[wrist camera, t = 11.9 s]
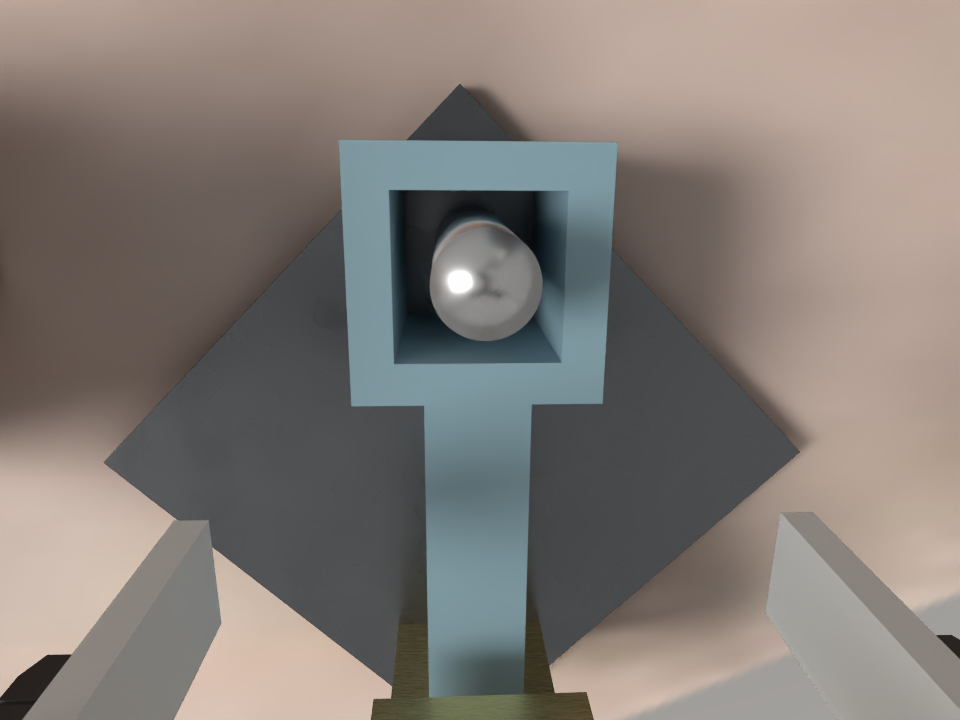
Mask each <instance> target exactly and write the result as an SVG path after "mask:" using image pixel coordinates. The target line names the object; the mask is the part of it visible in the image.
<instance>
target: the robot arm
mask: <svg viewBox="0 0 960 720" xmlns="http://www.w3.org/2000/svg"><path fill="white" fill-rule="evenodd" d="M765 614H766V615H767V616H768V618H769V619H770V621H771V622H772V624H773V625H774V627H775V628H776V630H777V631H778V633H779V634H780V636H781V637H782V639H783V640H784V642H785V643H786V645H787V646H788V647H789V649H790V650H791V652H792V653H793V655H794V656H795V658H796V659H797V661H798V662H799V664H800V665H801V667H802V668H803V670H804V671H805V672H806V674H807V675H808V677H809V678H810V680H811V681H812V683H813V684H814V686H815V687H816V689H817V690H818V692H819V693H820V695H821V696H822V697H823V699H824V700H825V702H826V704H827V705H828V706H829V708H830V709H831V711H832V712H833V714H834V715H835V717H836V718H837V720H960V640H959V639H957V638H956V637H954V636H952V635H935V634H934V633H933V632H932V631H931V630H930V629H929V628H928V627H927V626H926V625H925V624H924V623H923V622H922V621H921V620H920V619H919V618H918V617H917V616H916V615H915V614H914V613H913V612H912V611H911V610H910V609H909V608H908V607H907V606H906V605H905V604H904V603H903V602H902V601H901V600H900V599H899V598H898V597H897V596H896V595H895V594H894V593H893V592H892V591H891V590H890V589H889V588H888V587H887V586H886V585H885V584H884V583H883V582H882V581H881V580H880V579H879V578H878V577H877V576H876V575H875V574H874V573H873V572H872V571H871V570H870V569H869V568H868V567H867V566H866V565H865V564H864V563H863V562H862V561H861V560H860V559H859V558H858V557H857V556H856V555H855V554H854V553H853V552H852V551H851V550H850V549H849V548H848V547H847V546H846V545H845V544H844V543H843V542H842V541H841V540H840V539H839V538H838V537H837V536H836V535H835V534H834V533H833V532H832V531H831V530H830V529H829V528H828V527H827V526H826V525H825V524H824V523H823V522H822V521H821V520H820V519H819V518H818V517H817V516H816V515H815V514H814V513H813V512H797V513H780V520H779V526H778V533H777V539H776V546H775V552H774V559H773V566H772V572H771V579H770V585H769V592H768V598H767V605H766V611H765ZM220 625H221V616H220V608H219V600H218V592H217V584H216V576H215V568H214V560H213V552H212V543H211V535H210V527H209V520H182V521H173V523H172V524H171V525H170V527H169V528H168V529H167V531H166V532H165V533H164V535H163V536H162V537H161V538H160V540H159V541H158V542H157V544H156V545H155V546H154V548H153V549H152V550H151V552H150V553H149V554H148V556H147V557H146V558H145V559H144V561H143V562H142V563H141V565H140V566H139V567H138V569H137V570H136V571H135V573H134V574H133V575H132V577H131V578H130V579H129V580H128V582H127V583H126V584H125V586H124V587H123V588H122V590H121V591H120V592H119V594H118V595H117V596H116V597H115V599H114V600H113V601H112V603H111V604H110V605H109V607H108V608H107V609H106V611H105V612H104V613H103V615H102V616H101V617H100V618H99V620H98V621H97V622H96V624H95V625H94V626H93V628H92V629H91V630H90V632H89V633H88V634H87V636H86V637H85V638H84V639H83V641H82V642H81V643H80V645H79V646H78V647H77V649H76V650H75V651H74V653H73V654H72V655H47V656H45V657H44V658H43V659H41V660H40V661H38V662H37V663H36V664H34V665H33V666H32V667H30V668H29V669H27V670H26V671H25V672H23V673H22V674H21V675H19V676H18V677H17V678H16V679H15V681H14V682H13V683H12V684H11V685H10V687H9V688H8V689H7V690H6V691H5V693H4V694H3V695H2V696H1V697H0V720H174V718H175V716H176V714H177V712H178V710H179V708H180V706H181V704H182V702H183V700H184V698H185V696H186V694H187V692H188V690H189V688H190V686H191V684H192V682H193V680H194V678H195V676H196V674H197V672H198V670H199V667H200V665H201V663H202V661H203V659H204V657H205V655H206V653H207V651H208V649H209V647H210V645H211V643H212V641H213V639H214V637H215V635H216V633H217V631H218V629H219V627H220Z"/></svg>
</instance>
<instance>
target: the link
mask: <svg viewBox="0 0 960 720" xmlns="http://www.w3.org/2000/svg"><path fill="white" fill-rule="evenodd" d="M617 145H618V142H536V141H418V140H339V157H340V178H341V199H342V220H343V241H344V262H345V283H346V303H347V324H348V345H349V366H350V387H351V406H424V428H425V487H426V545H427V603H428V662H429V697H455V696H486V695H516V694H524V661H525V625H526V590H527V554H528V519H529V483H530V448H531V412H532V404H603V387H604V369H605V352H606V335H607V318H608V300H609V283H610V266H611V249H612V231H613V214H614V197H615V180H616V163H617ZM405 190H507V191H534V208H533V245H532V252H533V254H534V255H535V257H536V259H537V261H538V263H539V266H540V269H541V273H542V280H543V288H542V296H541V300H540V303H539V305H538V308H537V310H536V312H535V314H534V315H533V317H532V318H531V319H530V321H529V322H528V323H527V324H526V325H525V326H524V327H522V328H521V329H520V330H519V331H517V332H516V333H514V334H512V335H510V336H508V337H505V338H502V339H499V340H494V341H477V340H472V339H469V338H466V337H463V336H461V335H459V334H457V333H456V332H454V331H453V330H451V329H450V328H449V327H448V326H447V325H446V324H445V323H444V322H443V321H442V320H441V318H440V317H439V316H438V314H437V312H407V270H406V227H405Z"/></svg>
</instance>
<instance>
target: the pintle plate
mask: <svg viewBox="0 0 960 720" xmlns="http://www.w3.org/2000/svg"><path fill="white" fill-rule="evenodd" d="M407 140H418V141H512V139H511V138H510V137H509V136H508V135H507V134H506V133H505V132H504V131H503V130H502V129H501V128H500V126H499V125H498V124H497V123H496V122H495V121H494V120H493V119H492V118H491V117H490V116H489V115H488V113H487V112H486V111H485V110H484V109H483V108H482V107H481V106H480V105H479V104H478V103H477V102H476V100H475V99H474V98H473V97H472V96H471V95H470V94H469V93H468V92H467V91H466V90H465V89H464V87H463V86H462V85H461V84H459V85H458V86H457V87H456V88H455V89H454V91H453V92H452V93H451V94H450V95H449V96H448V97H447V98H446V99H445V100H444V101H443V102H442V103H441V104H440V105H439V106H438V108H437V109H436V110H435V111H434V112H433V113H432V114H431V115H430V116H429V117H428V118H427V119H426V120H425V121H424V122H423V123H422V125H421V126H420V127H419V128H418V129H417V130H416V131H415V132H414V133H413V134H412V135H411V136H410V137H409V138H408V139H407ZM533 208H534V191H507V190H405V227H406V270H407V312H437V314H438V316H439V317H440V318H441V320H442V321H443V322H444V323H445V324H446V325H447V326H448V327H449V328H450V329H451V330H453V331H454V332H456V333H457V334H459V335H461V336H463V337H466V338H469V339H472V340H477V341H494V340H499V339H502V338H505V337H508V336H510V335H512V334H514V333H516V332H517V331H519V330H520V329H521V328H522V327H524V326H525V325H526V324H527V323H528V322H529V321H530V319H531V318H532V317H533V315H534V314H535V312H536V310H537V308H538V305H539V303H540V300H541V296H542V288H543V280H542V273H541V269H540V266H539V263H538V261H537V259H536V257H535V255H534V254H533V252H532V245H533ZM798 453H800V451H799V450H798V449H797V448H796V447H795V446H794V445H793V444H792V443H791V441H790V440H789V439H788V438H787V437H786V436H785V435H784V434H783V433H782V432H781V431H780V430H779V428H778V427H777V426H776V425H775V424H774V423H773V422H772V421H771V420H770V419H769V418H768V417H767V416H766V414H765V413H764V412H763V411H762V410H761V409H760V408H759V407H758V406H757V405H756V404H755V403H754V401H753V400H752V399H751V398H750V397H749V396H748V395H747V394H746V393H745V392H744V391H743V390H742V388H741V387H740V386H739V385H738V384H737V383H736V382H735V381H734V380H733V379H732V378H731V377H730V375H729V374H728V373H727V372H726V371H725V370H724V369H723V368H722V367H721V366H720V365H719V364H718V362H717V361H716V360H715V359H714V358H713V357H712V356H711V355H710V354H709V353H708V352H707V351H706V349H705V348H704V347H703V346H702V345H701V344H700V343H699V342H698V341H697V340H696V339H695V338H694V336H693V335H692V334H691V333H690V332H689V331H688V330H687V329H686V328H685V327H684V326H683V325H682V323H681V322H680V321H679V320H678V319H677V318H676V317H675V316H674V315H673V314H672V313H671V312H670V311H669V309H668V308H667V307H666V306H665V305H664V304H663V303H662V302H661V301H660V300H659V299H658V298H657V296H656V295H655V294H654V293H653V292H652V291H651V290H650V289H649V288H648V287H647V286H646V285H645V283H644V282H643V281H642V280H641V279H640V278H639V277H638V276H637V275H636V274H635V273H634V272H633V270H632V269H631V268H630V267H629V266H628V265H627V264H626V263H625V262H624V261H623V260H622V259H621V257H620V256H619V255H618V254H617V253H616V252H615V251H614V250H613V249H611V266H610V283H609V300H608V318H607V335H606V352H605V369H604V387H603V404H532V412H531V448H530V483H529V519H528V554H527V590H526V625H525V661H524V694H516V695H486V696H455V697H429V662H428V603H427V545H426V487H425V428H424V406H351V387H350V366H349V345H348V324H347V303H346V283H345V262H344V241H343V220H342V210H341V211H340V212H339V213H338V214H337V215H336V216H335V217H334V218H333V219H332V220H331V221H330V222H329V223H328V224H327V226H326V227H325V228H324V229H323V230H322V231H321V232H320V233H319V234H318V235H317V236H316V237H315V238H314V239H313V240H312V241H311V243H310V244H309V245H308V246H307V247H306V248H305V249H304V250H303V251H302V252H301V253H300V254H299V255H298V256H297V257H296V258H295V260H294V261H293V262H292V263H291V264H290V265H289V266H288V267H287V268H286V269H285V270H284V271H283V272H282V273H281V274H280V275H279V277H278V278H277V279H276V280H275V281H274V282H273V283H272V284H271V285H270V286H269V287H268V288H267V289H266V290H265V291H264V292H263V294H262V295H261V296H260V297H259V298H258V299H257V300H256V301H255V302H254V303H253V304H252V305H251V306H250V307H249V308H248V309H247V311H246V312H245V313H244V314H243V315H242V316H241V317H240V318H239V319H238V320H237V321H236V322H235V323H234V324H233V325H232V326H231V328H230V329H229V330H228V331H227V332H226V333H225V334H224V335H223V336H222V337H221V338H220V339H219V340H218V341H217V342H216V343H215V345H214V346H213V347H212V348H211V349H210V350H209V351H208V352H207V353H206V354H205V355H204V356H203V357H202V358H201V359H200V360H199V362H198V363H197V364H196V365H195V366H194V367H193V368H192V369H191V370H190V371H189V372H188V373H187V374H186V375H185V376H184V378H183V379H182V380H181V381H180V382H179V383H178V384H177V385H176V386H175V387H174V388H173V389H172V390H171V391H170V392H169V393H168V395H167V396H166V397H165V398H164V399H163V400H162V401H161V402H160V403H159V404H158V405H157V406H156V407H155V408H154V409H153V410H152V412H151V413H150V414H149V415H148V416H147V417H146V418H145V419H144V420H143V421H142V422H141V423H140V424H139V425H138V426H137V427H136V429H135V430H134V431H133V432H132V433H131V434H130V435H129V436H128V437H127V438H126V439H125V440H124V441H123V442H122V443H121V444H120V446H119V447H118V448H117V449H116V450H115V451H114V452H113V453H112V454H111V455H110V456H109V457H108V458H107V459H106V460H105V461H104V463H105V464H106V465H107V466H108V467H110V468H111V469H112V470H114V471H115V472H116V473H118V474H119V475H120V476H121V477H123V478H124V479H125V480H127V481H128V482H129V483H130V484H132V485H133V486H134V487H136V488H137V489H138V490H139V491H141V492H142V493H143V494H145V495H146V496H147V497H149V498H150V499H151V500H152V501H154V502H155V503H156V504H158V505H159V506H160V507H161V508H163V509H164V510H165V511H167V512H168V513H169V514H170V515H172V516H173V517H174V518H176V519H177V520H178V521H182V520H209V527H210V535H211V543H212V547H213V548H214V549H216V550H217V551H218V552H220V553H221V554H222V555H223V556H225V557H226V558H227V559H229V560H230V561H231V562H232V563H234V564H235V565H236V566H238V567H239V568H240V569H241V570H243V571H244V572H245V573H247V574H248V575H249V576H251V577H252V578H253V579H254V580H256V581H257V582H258V583H260V584H261V585H262V586H263V587H265V588H266V589H267V590H269V591H270V592H271V593H272V594H274V595H275V596H276V597H278V598H279V599H280V600H282V601H283V602H284V603H285V604H287V605H288V606H289V607H291V608H292V609H293V610H294V611H296V612H297V613H298V614H300V615H301V616H302V617H303V618H305V619H306V620H307V621H309V622H310V623H311V624H313V625H314V626H315V627H316V628H318V629H319V630H320V631H322V632H323V633H324V634H325V635H327V636H328V637H329V638H331V639H332V640H333V641H334V642H336V643H337V644H338V645H340V646H341V647H342V648H344V649H345V650H346V651H347V652H349V653H350V654H351V655H353V656H354V657H355V658H356V659H358V660H359V661H360V662H362V663H363V664H364V665H365V666H367V667H368V668H369V669H371V670H372V671H373V672H375V673H376V674H377V675H378V676H380V677H381V678H382V679H384V680H385V681H386V682H387V683H389V684H390V685H391V686H392V696H391V699H374V701H373V708H372V715H371V720H594V719H593V715H592V711H591V708H590V704H589V700H588V696H587V693H586V692H577V693H555V692H554V688H553V683H552V678H551V673H550V669H549V665H550V664H551V663H552V662H553V661H555V660H556V659H557V658H558V657H559V656H561V655H562V654H563V653H564V652H565V651H566V650H568V649H569V648H570V647H571V646H572V645H574V644H575V643H576V642H577V641H578V640H579V639H581V638H582V637H583V636H584V635H585V634H586V633H588V632H589V631H590V630H591V629H592V628H594V627H595V626H596V625H597V624H598V623H599V622H601V621H602V620H603V619H604V618H605V617H606V616H608V615H609V614H610V613H611V612H612V611H614V610H615V609H616V608H617V607H618V606H619V605H621V604H622V603H623V602H624V601H625V600H627V599H628V598H629V597H630V596H631V595H632V594H634V593H635V592H636V591H637V590H638V589H639V588H641V587H642V586H643V585H644V584H645V583H647V582H648V581H649V580H650V579H651V578H652V577H654V576H655V575H656V574H657V573H658V572H659V571H661V570H662V569H663V568H664V567H665V566H667V565H668V564H669V563H670V562H671V561H672V560H674V559H675V558H676V557H677V556H678V555H679V554H681V553H682V552H683V551H684V550H685V549H687V548H688V547H689V546H690V545H691V544H692V543H694V542H695V541H696V540H697V539H698V538H700V537H701V536H702V535H703V534H704V533H705V532H707V531H708V530H709V529H710V528H711V527H712V526H714V525H715V524H716V523H717V522H718V521H720V520H721V519H722V518H723V517H724V516H725V515H727V514H728V513H729V512H730V511H731V510H732V509H734V508H735V507H736V506H737V505H738V504H740V503H741V502H742V501H743V500H744V499H745V498H747V497H748V496H749V495H750V494H751V493H753V492H754V491H755V490H756V489H757V488H758V487H760V486H761V485H762V484H763V483H764V482H765V481H767V480H768V479H769V478H770V477H771V476H773V475H774V474H775V473H776V472H777V471H778V470H780V469H781V468H782V467H783V466H784V465H785V464H787V463H788V462H789V461H790V460H791V459H793V458H794V457H795V456H796V455H797V454H798Z"/></svg>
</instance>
